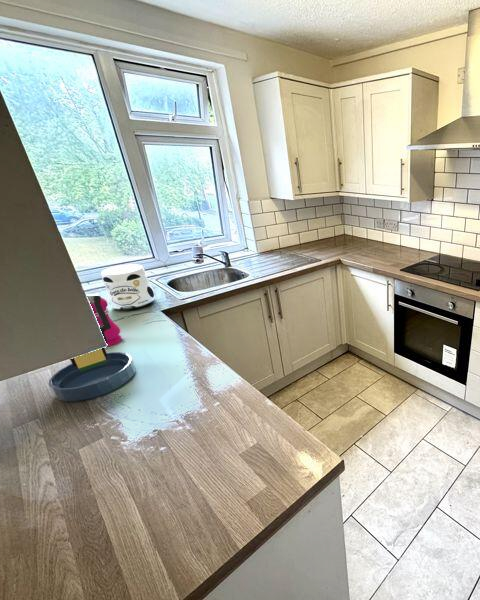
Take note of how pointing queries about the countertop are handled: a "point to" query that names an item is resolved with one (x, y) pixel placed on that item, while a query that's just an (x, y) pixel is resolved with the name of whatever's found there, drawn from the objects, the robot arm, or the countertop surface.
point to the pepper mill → (114, 331)
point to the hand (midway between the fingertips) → (90, 359)
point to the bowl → (92, 378)
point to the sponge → (90, 360)
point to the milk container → (127, 287)
